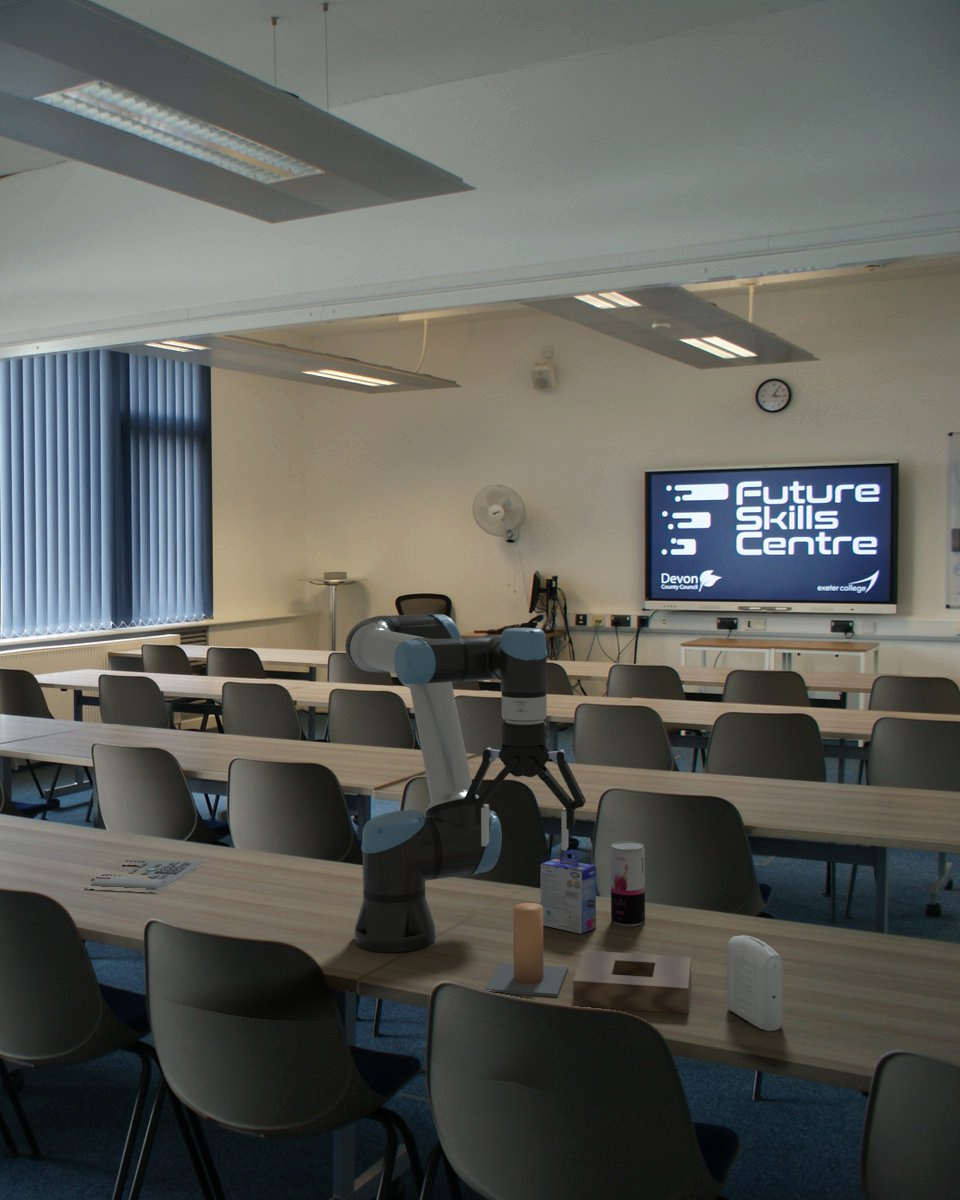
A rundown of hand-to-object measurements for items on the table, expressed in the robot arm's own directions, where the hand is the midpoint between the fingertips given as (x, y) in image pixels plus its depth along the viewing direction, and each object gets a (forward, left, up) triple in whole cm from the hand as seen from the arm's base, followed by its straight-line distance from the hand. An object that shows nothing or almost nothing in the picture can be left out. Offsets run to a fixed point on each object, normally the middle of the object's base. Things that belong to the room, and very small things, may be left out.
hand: (524, 846), depth 190 cm
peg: (0, 0, -22) cm, 22 cm away
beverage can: (+14, +34, -23) cm, 43 cm away
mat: (0, 0, -23) cm, 23 cm away
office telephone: (-97, +46, -24) cm, 110 cm away
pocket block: (+18, -2, -23) cm, 29 cm away
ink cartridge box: (+3, +29, -23) cm, 37 cm away
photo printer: (+37, -9, -23) cm, 45 cm away
